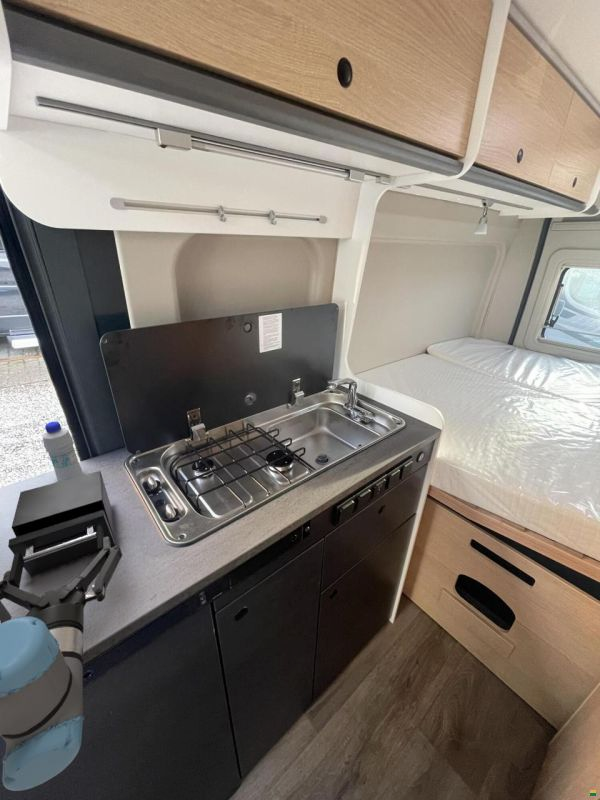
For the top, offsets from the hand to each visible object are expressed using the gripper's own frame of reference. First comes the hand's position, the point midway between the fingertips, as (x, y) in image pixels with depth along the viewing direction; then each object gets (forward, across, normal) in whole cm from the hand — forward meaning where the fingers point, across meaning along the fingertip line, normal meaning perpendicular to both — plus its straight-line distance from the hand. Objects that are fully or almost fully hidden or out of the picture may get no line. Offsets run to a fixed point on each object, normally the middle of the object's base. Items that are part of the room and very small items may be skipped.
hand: (62, 542), depth 66 cm
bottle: (+37, -2, -10) cm, 38 cm away
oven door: (+3, 0, -10) cm, 11 cm away
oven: (+12, 0, -10) cm, 15 cm away
